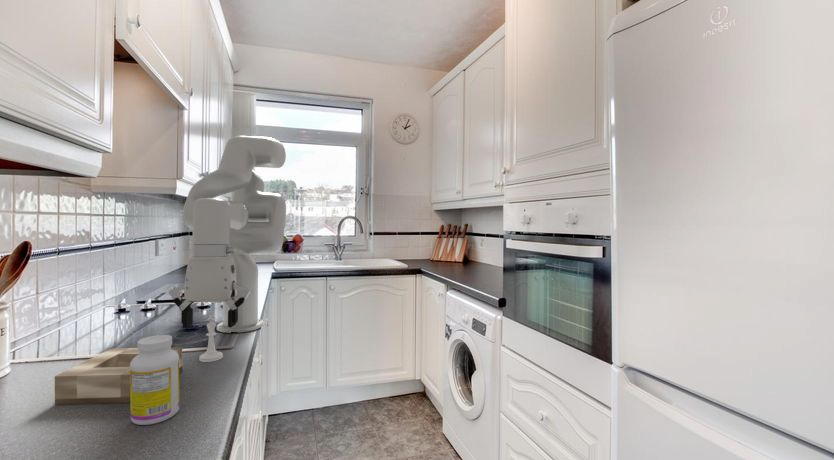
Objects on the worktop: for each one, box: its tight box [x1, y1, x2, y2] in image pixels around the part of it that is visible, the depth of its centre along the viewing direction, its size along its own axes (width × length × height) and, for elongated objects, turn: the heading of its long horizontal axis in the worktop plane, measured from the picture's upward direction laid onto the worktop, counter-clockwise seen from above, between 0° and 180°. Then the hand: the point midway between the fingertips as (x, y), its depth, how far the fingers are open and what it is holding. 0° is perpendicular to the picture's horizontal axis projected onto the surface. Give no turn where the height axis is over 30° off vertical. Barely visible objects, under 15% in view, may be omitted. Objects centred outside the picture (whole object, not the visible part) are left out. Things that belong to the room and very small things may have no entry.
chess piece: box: [198, 314, 224, 363], centre depth 88 cm, size 5×5×10 cm
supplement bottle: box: [129, 334, 180, 426], centre depth 62 cm, size 7×7×13 cm
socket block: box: [54, 346, 183, 406], centre depth 73 cm, size 14×14×5 cm
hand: (210, 326), depth 87 cm, fingers open, 9 cm apart
